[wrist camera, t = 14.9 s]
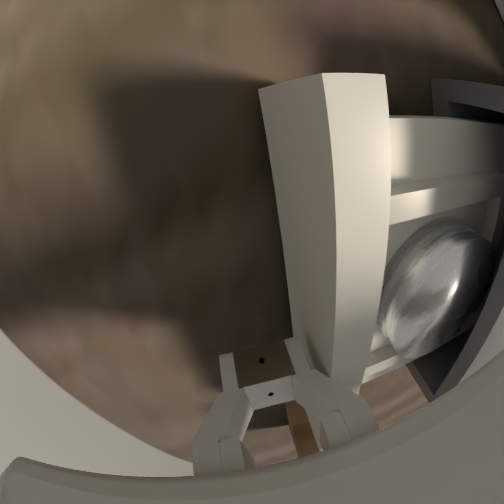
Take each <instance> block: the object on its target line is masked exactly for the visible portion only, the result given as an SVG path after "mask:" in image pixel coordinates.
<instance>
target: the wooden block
mask: <svg viewBox="0 0 504 504" xmlns="http://www.w3.org/2000/svg"><path fill="white" fill-rule="evenodd" d="M285 407H286V412H287V418H288V423H289V427H290V431H291V434H292V437H293V441H294V444H295V447H296V451H297V454H298V457H299V458H301V457H304V456H308V455H311V454H314V453H317V452H320V451H319V449H318V446H317V443H316V440H315V437H314V434H313V431H312V428H311V425H310V422H309V420H308V417H307V414H306V411H305V408H303V407H302V406H301V405H300V404H298V403H297V402H296V401H295V400H293V401H289V402H285Z"/></svg>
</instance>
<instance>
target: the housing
mask: <svg viewBox="0 0 504 504" xmlns="http://www.w3.org/2000/svg"><path fill="white" fill-rule="evenodd" d="M430 81H431V91H432V104H433V116H439V117H453V118H464V119H474V120H482V121H490V122H496V123H503V124H504V87H502V86H497V85H491V84H485V83H479V82H472V81H463V80H454V79H441V78H430ZM503 349H504V253H503V256H502V259H501V263H500V266H499V269H498V271H497V274H496V277H495V280H494V283H493V285H492V288H491V290H490V293H489V295H488V298H487V300H486V303H485V305H484V307H483V309H482V312H481V314H480V316H479V318H478V320H477V322H476V325H474V326H473V327H471V328H470V329H468V330H467V331H465V332H463V333H462V334H460V335H458V336H457V337H455V338H454V339H452V340H450V341H448V342H447V343H445V344H443V345H442V346H441V347H439V348H437V349H436V350H434V351H432V352H430V353H428V354H426V355H423V356H421V357H419V358H417V359H415V360H413V361H411V362H409V363H407V364H405V365H406V366H407V368H408V369H409V371H410V372H411V374H412V376H413V377H414V379H415V380H416V382H417V384H418V385H419V387H420V388H421V390H422V392H423V393H424V395H425V397H426V398H427V400H428V402H429V403H430V402H432V401H433V400H435V399H437V398H438V397H440V396H441V395H443V394H445V393H446V392H448V391H449V390H451V389H452V388H454V387H455V386H457V385H458V384H460V383H461V382H463V381H464V380H465V379H467V378H468V377H470V376H471V375H472V374H474V373H475V372H476V371H478V370H479V369H480V368H482V367H483V366H484V365H485V364H487V363H488V362H489V361H490V360H492V359H493V358H494V357H495V356H496V355H498V354H499V353H500V352H501V351H502V350H503Z"/></svg>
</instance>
